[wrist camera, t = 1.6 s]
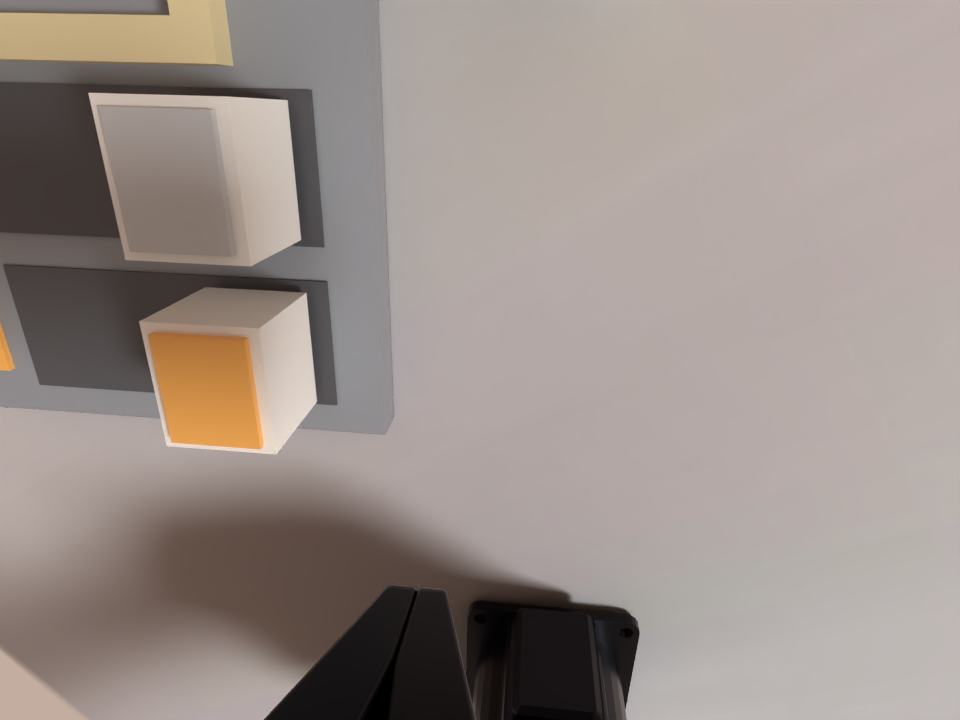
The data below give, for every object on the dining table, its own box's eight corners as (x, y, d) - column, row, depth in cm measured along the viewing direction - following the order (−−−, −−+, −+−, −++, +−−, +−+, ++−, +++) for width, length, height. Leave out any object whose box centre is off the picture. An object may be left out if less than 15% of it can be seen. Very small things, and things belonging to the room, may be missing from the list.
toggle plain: (301, 239, 16) (246, 268, 13) (196, 235, 16) (119, 262, 13) (287, 100, 14) (223, 96, 11) (173, 96, 15) (81, 92, 12)
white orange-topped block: (317, 401, 18) (272, 458, 15) (223, 395, 18) (162, 450, 15) (306, 292, 16) (255, 331, 13) (205, 287, 17) (133, 324, 14)
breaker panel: (394, 416, 19) (378, 448, 18) (11, 389, 21) (-40, 416, 19) (360, -452, 12) (327, -558, 10) (-259, -421, 13) (-394, -512, 11)
